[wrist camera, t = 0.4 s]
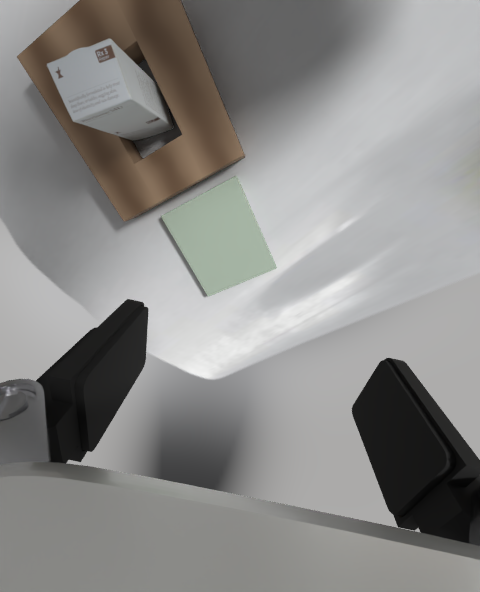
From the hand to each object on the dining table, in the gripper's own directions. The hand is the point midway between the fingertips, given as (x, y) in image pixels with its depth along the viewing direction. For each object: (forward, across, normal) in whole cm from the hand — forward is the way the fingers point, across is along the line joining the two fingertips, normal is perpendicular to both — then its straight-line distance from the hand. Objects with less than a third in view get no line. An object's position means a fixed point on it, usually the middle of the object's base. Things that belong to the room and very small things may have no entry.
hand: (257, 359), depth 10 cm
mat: (+29, +5, +4) cm, 30 cm away
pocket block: (+29, +17, -10) cm, 35 cm away
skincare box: (+29, +17, -10) cm, 35 cm away
